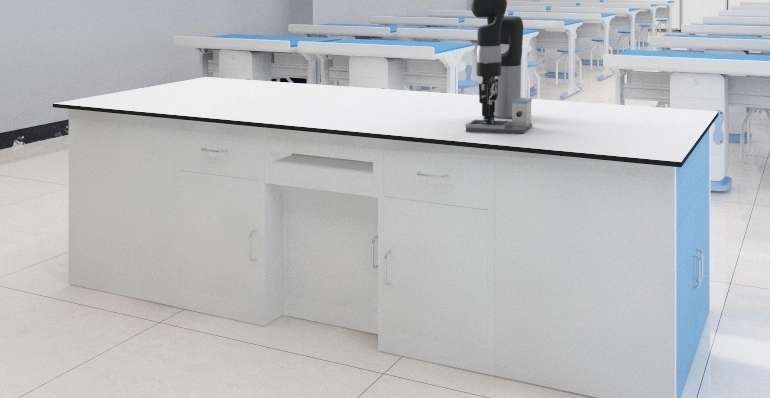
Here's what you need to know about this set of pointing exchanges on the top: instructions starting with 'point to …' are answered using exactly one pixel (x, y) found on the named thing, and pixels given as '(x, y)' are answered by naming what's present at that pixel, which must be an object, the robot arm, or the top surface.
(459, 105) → the top surface
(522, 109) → the base
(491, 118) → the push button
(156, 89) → the top surface
